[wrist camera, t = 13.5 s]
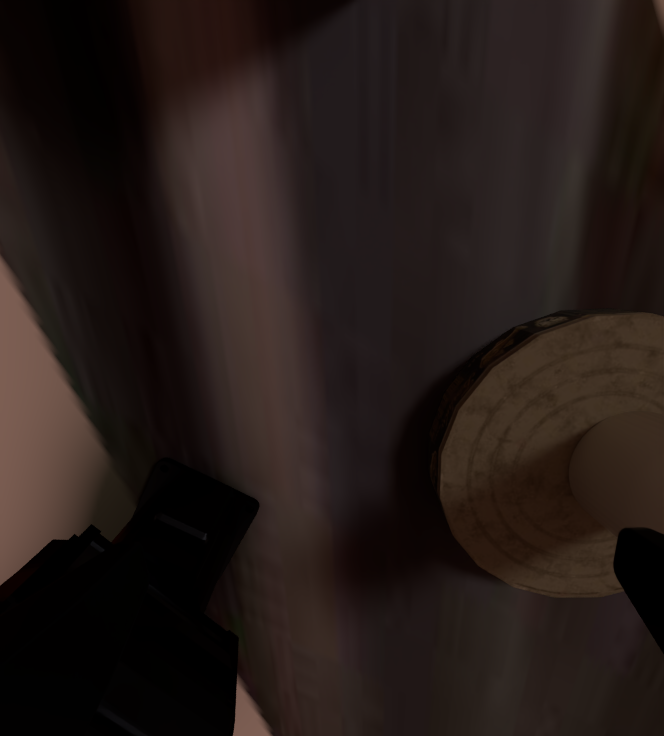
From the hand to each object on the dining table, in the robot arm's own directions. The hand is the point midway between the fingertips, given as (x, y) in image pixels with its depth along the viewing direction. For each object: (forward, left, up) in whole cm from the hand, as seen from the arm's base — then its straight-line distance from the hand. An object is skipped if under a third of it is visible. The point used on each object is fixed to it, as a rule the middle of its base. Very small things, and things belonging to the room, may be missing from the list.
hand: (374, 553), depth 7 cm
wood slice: (+2, -13, -14) cm, 19 cm away
